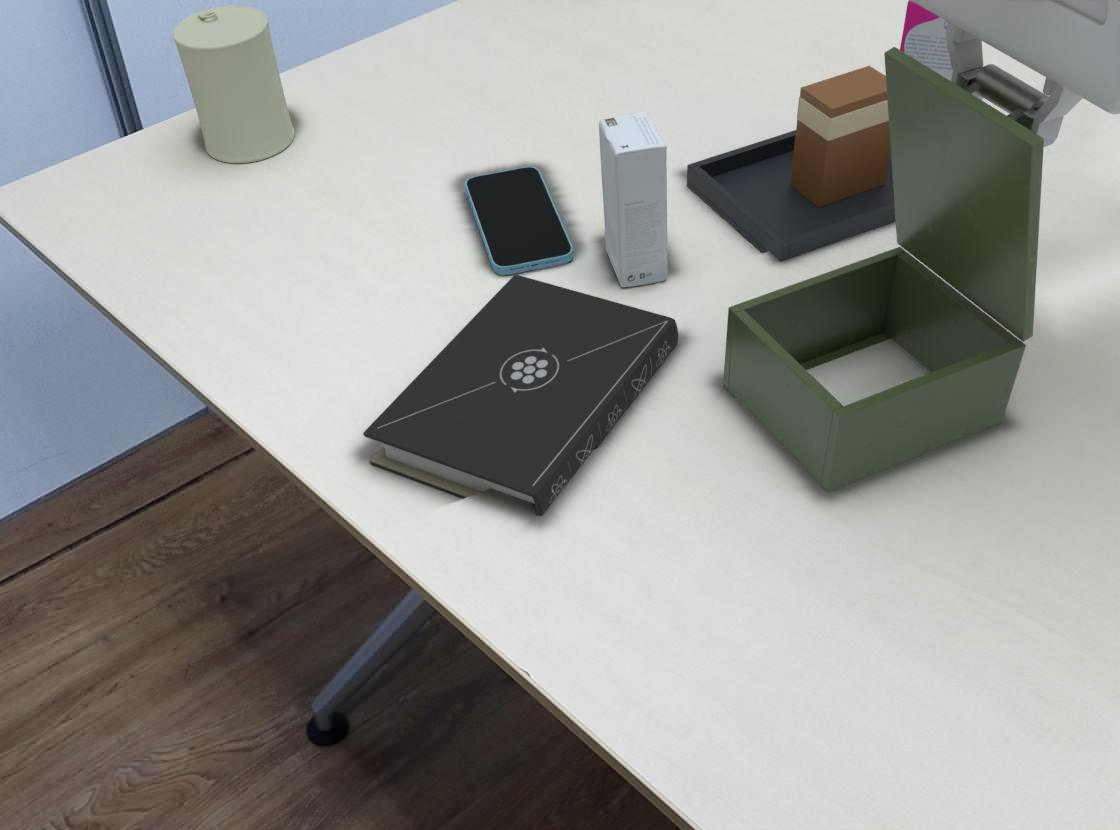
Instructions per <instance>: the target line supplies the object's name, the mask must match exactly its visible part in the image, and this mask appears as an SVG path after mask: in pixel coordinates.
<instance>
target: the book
mask: <svg viewBox="0 0 1120 830" xmlns="http://www.w3.org/2000/svg"><path fill="white" fill-rule="evenodd" d="M678 342H679V329H678V324H677V322H676V319H675V318H672V317H671V316H666V315H663V314H660V313H655V312H652V311H649V310H645V309H641V308H638V307H634V306H631V305H627V304H624V303H620V302H616V301H613V300H610V299H605V298H602V297H598V296H594V295H591V294H588V293H584V292H580V291H577V290H573V289H569V288H566V287H562V286H559V285H555V284H553V283H548V282H544V281H541V280H537V279H535V278H529V277H527V276H523V275H519V274H513V276H512V277H510V279H509V280H508V281H507V282H506V283H505V284H504V285H503V286H502V287H501V288H500V289H499V290H498V291H497V293H496V294H495V295H493V296H492V297H491V298H490V299H489V301H488V302H487V303H486V304H485V305H484V306H483V307H482V308H481V309H480V310H479V311H478V312H477V313H476V314H475V315H474V316H473V317H472V318H471V319H470V321H469V322H468V323H467V324H466V325H465V326H464V327H463V328H462V329H461V330H460V331H459V332H458V333H457V334H456V335H455V336H454V337H453V338H452V339H451V341H449V343H447V345H446V346H444V348H443V349H442V350H441V351H440V352H439V353H438V354H437V355H436V356H435V357H434V358H433V359H432V360H431V361H430V362H429V363H428V365H427V366H426V367H425V368H423V370H422V371H421V372H420V373H419V374H418V375H417V376H416V377H415V378H414V379H413V380H412V381H411V382H410V383H409V384H408V385H407V386H406V388H404V389H403V391H402V392H400V394H398V396H397V397H396V398H395V399H394V400H393V401H392V402H391V403H390V404H389V405H388V406H387V407H386V409H385V410H383V412H382V413H380V414H379V416H378V417H377V418H376V419H375V420H374V421H373V422H372V423H371V424H370V425H369V426H368V427H367V428H366V429H365V431H363V433H362V434H363V436H364V437H365V438H368V439H370V440H373V441H376V442H379V443H381V444H383V445H382V447H381V448H379V450H378V451H377V452H376V453H375V454H374V455H373V456H372V457H371V459H369V464H371V465H373V466H375V467H378V468H381V469H384V470H385V471H388V472H392V473H395V474H398V475H400V476H401V477H404V478H405V477H406V478H408V479H410V480H413V481H416V482H419V483H422V484H424V485H427V486H429V487H432V488H434V489H437V490H439V491H443V492H445V493H448V494H451V495H454V496H457V497H459V498H462V499H467V498H470V497H472V496H474V495H477V494H480V493H483V492H485V491H488V490H491V489H492V490H495V491H497V492H500V493H503V494H506V495H509V496H512V497H514V498H517V499H519V500H523V501H525V502H528V503H530V504H533V505H534V506H535V516H544V514H545V513H546V511H548V509H549V508H550V506H551V505H552V504H553V503H554V502H555V500H556V498H557V497H559V495H560V494H561V492H562V491H563V489H564V488H565V487H566V485H567V484H568V483H569V482H570V481H571V480H572V478H573V477H574V475H576V473H577V472H578V470H579V469H580V468H581V466H582V465H583V464H584V463H585V461H586V460H587V459H588V458H589V456H590V455H591V453H592V452H593V451H594V450H597V449H598V447H599V446H600V444H601V443H602V442H603V441H604V440H605V438H606V437H607V436H608V434H609V433H610V431H612V429H613V428H614V426H615V425H616V424H617V423H618V421H619V420H620V419H621V417H622V416H623V415H624V414H625V412H626V411H627V409H628V408H629V407H630V406H631V404H632V403H633V402H634V400H635V399H636V398H637V397H638V395H639V394H640V393H641V391H642V390H643V389H644V387H645V386H646V385H647V384H648V382H649V381H650V380H651V378H653V376H654V374H656V372H657V371H658V369H659V368H660V367H661V365H662V364H663V363H664V362H665V361H666V359H667V358H668V357H669V355H670V354H671V353H672V352H673V350H674V348H675V347H676V346H677V345H678Z"/></svg>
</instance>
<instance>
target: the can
mask: <svg viewBox="0 0 1120 830" xmlns="http://www.w3.org/2000/svg"><path fill="white" fill-rule="evenodd" d="M172 38H173V41H174V43H175V45H176V49H177V52H178V55H179V58H180V62H181V64H182V68H183V71H184V75H185V77H186V80H187V84H188V87H189V90H190V94H191V97H192V101H193V104H194V108H195V111H196V114H197V118H198V121H199V125H200V128H201V132H202V136H203V140H204V148H205V151H206V152H207V154H208V156H210V157H211V158H213V159H215V160H216V161H219V162H223V163H227V164H248V163H254V162H260V161H263V160H266V159H269V158H272V157H274V156H276V155H278V154H279V153H281V152H283V151H284V150H286V149H287V148H288V147H289V146H290V145H291V144H292V142H293V141H294V140H295V135H296V134H295V133H296V132H295V128H294V126H293V123H292V119H291V116H290V113H289V108H288V105H287V100H286V97H285V93H284V87H283V83H282V80H281V75H280V71H279V67H278V62H277V59H276V58H277V57H276V54H275V48H274V43H273V39H272V35H271V31H270V26H269V18H268V16H267V14H266V13H265V12H264V11H262V10H260V9H258V8H256V7H253V6H247V5H223V6H217V7H211V8H207V9H205V10H201V11H198V12H196V13H194V14H191V15H189V16H188V17H185V18H184V19H183V20H181V21H180V22H179V23H177V24H176V26H175V27H174V29H173V31H172Z"/></svg>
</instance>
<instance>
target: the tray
mask: <svg viewBox="0 0 1120 830" xmlns="http://www.w3.org/2000/svg"><path fill="white" fill-rule="evenodd" d="M795 136H796V129H795V130H791V131H788V132H785V133H782V134H780V135H776V136H773V137H769V138H766V139H764V140H761V141H757V142H755V143H754V142H753V143H751V144H748V145H745V146H741V147H738V148H735V149H732V150H729V151H725V152H723V153H720V154H717V155H714V156H710V157H708V158H705V159H704V158H703V159H701V160H697V161H695V162H692V163H689V164H687V167H686V168H687V169H686V187H688V188H689V189H690V191H692V192H693V193H694V194H696V195H697V196H698V197H699V198H700V199H701V200H702V201H703V202H704V203H706V205H708V206H709V207H710V208H711V209H712V210H713V211H714V212H715V213H716V214H718V215H719V216H720V217H721V218H722V219H723V220H724V221H726V223H728V224H729V225H730V226H731V227H732V228H734V230H736V231H737V232H738V234H740V235H742V237H743V238H745V239H746V240H747V241H748V242H749V243H750V244H751V245H752V246H753V247H755V248H756V249H757V250H758V251H759V252H760V253H762V254H765V253H768V252H769V253H770V254H771V255H773V257H775V258H776V259H777V260H778V261H779V262H783V261H786V260H789V259H792V258H795V257H798V256H801V255H804V254H807V253H809V252H813V251H815V250H818V249H821V248H824V247H826V246H831V245H832V244H835V243H838V242H841V241H844V240H847V239H850V238H853V237H855V236H856V237H857V236H858V235H861V234H864V233H867V232H870V231H873V230H876V229H878V228H881V227H884V226H887V225H890V224H892V223H896V221H895V206H894V191H893V176H892V161H891V151H890V157H889V163H888V168H887V174H886V180H885V185H882V186H879V187H877V188H874V189H871V190H868V191H865V192H862V193H859V194H857V195H854V196H851V197H848V198H845V199H842V200H839V201H836V202H834V203H831V204H828V205H825V206H822V207H818V206H816V205H815V204H814V203H813V202H811V201H810V200H809V199H807V198H806V197H805V196H804V195H802V194H801V193H800V192H799V191H797V190H796V189H795V188H793V187H792V186H791V185H790V181H791V172H792V163H793V154H794V145H795Z"/></svg>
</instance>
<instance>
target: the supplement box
mask: <svg viewBox="0 0 1120 830" xmlns="http://www.w3.org/2000/svg"><path fill="white" fill-rule="evenodd" d="M947 26H948V21H946V20H944V19H943V18H941V17H939V16H937V15H936V14H934V13H932V12H930V11H929V10H927V9H925V8H923V7H922V6H920V5H918V4H916V3H915V2H913V1H911V0H908V1H907V4H906V10H905V17H904V22H903V30H902V34H901V40H900V47H899V50H901V51H902V52H904V53H905V54H907V55H909V56H910V57H912V58H914V59H915V60H917V61H918V62H920V63H922V64H923V65H925V66H927V67H928V68H930V69H931V70H933V71H935V72H936V73H938V74H940V75H941V76H943V77H944V78H946V79H948V80H949V81H951V78H952V74H953V69H952V67H951V62H950V57H949V52H948V47H947V42H946V37H945V36H946V31H947Z"/></svg>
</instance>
